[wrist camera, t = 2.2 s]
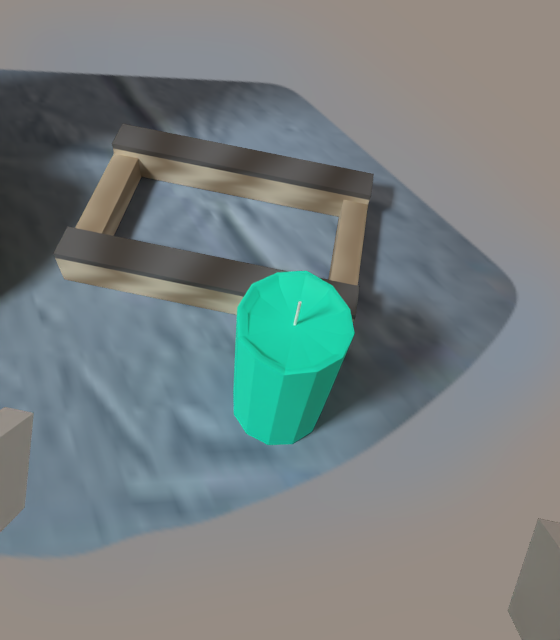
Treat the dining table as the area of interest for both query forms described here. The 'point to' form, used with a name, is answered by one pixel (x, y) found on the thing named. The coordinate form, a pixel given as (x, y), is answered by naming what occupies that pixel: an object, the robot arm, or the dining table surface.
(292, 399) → the candle
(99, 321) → the dining table surface
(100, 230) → the rectangular wooden frame
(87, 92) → the dining table surface
